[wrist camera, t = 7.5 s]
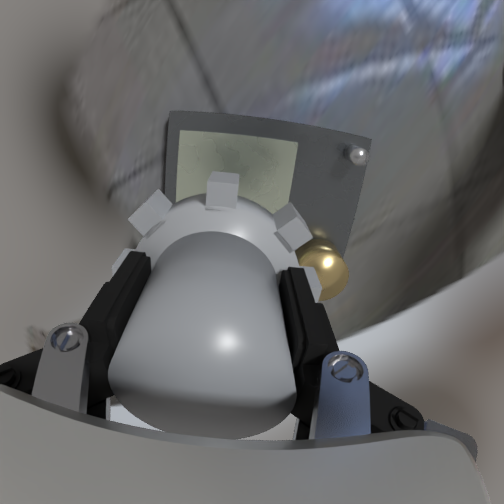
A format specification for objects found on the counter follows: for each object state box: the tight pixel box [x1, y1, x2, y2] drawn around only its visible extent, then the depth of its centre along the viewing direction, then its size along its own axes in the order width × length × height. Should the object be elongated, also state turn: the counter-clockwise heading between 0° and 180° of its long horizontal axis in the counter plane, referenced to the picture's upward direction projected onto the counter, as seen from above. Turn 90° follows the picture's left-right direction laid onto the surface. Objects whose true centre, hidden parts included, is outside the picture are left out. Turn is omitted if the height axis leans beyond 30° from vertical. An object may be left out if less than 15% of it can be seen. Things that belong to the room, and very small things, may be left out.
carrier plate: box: [165, 111, 372, 301], centre depth 23 cm, size 16×14×4 cm
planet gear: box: [108, 171, 322, 439], centre depth 9 cm, size 8×8×7 cm
